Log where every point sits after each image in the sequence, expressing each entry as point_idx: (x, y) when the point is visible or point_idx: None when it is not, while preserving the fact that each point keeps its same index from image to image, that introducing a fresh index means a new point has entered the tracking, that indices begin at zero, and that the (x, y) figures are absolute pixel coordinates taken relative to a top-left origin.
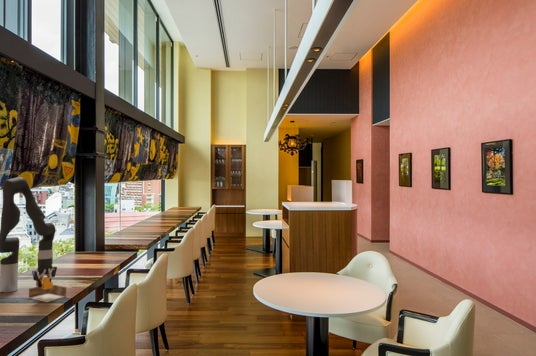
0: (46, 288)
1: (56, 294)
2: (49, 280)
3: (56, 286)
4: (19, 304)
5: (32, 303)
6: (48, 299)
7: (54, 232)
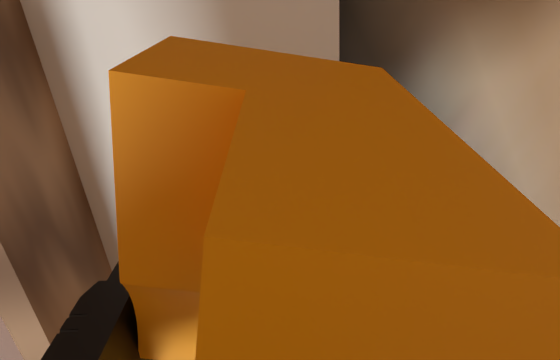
0: (338, 65)
1: (82, 171)
2: (239, 138)
3: (12, 250)
4: (545, 196)
5: (461, 100)
6: (268, 39)
7: None
